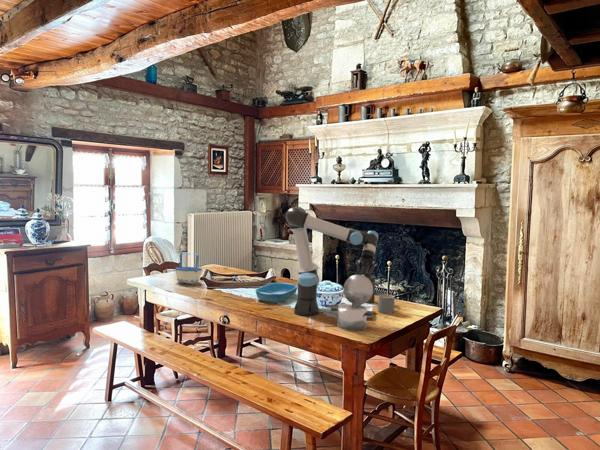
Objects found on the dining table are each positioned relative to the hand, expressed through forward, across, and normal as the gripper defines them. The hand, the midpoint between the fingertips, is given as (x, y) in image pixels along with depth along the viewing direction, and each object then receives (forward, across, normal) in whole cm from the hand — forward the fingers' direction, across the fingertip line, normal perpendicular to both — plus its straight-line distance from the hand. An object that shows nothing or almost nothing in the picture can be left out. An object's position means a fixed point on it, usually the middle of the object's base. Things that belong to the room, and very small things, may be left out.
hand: (360, 285), depth 242 cm
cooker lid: (+4, +1, +1) cm, 4 cm away
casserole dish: (-4, +65, -34) cm, 73 cm away
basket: (-10, +146, -40) cm, 152 cm away
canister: (-18, +6, -48) cm, 52 cm away
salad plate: (+7, +6, -23) cm, 25 cm away
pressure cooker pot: (+24, +1, -5) cm, 24 cm away
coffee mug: (-4, -10, -34) cm, 36 cm away
